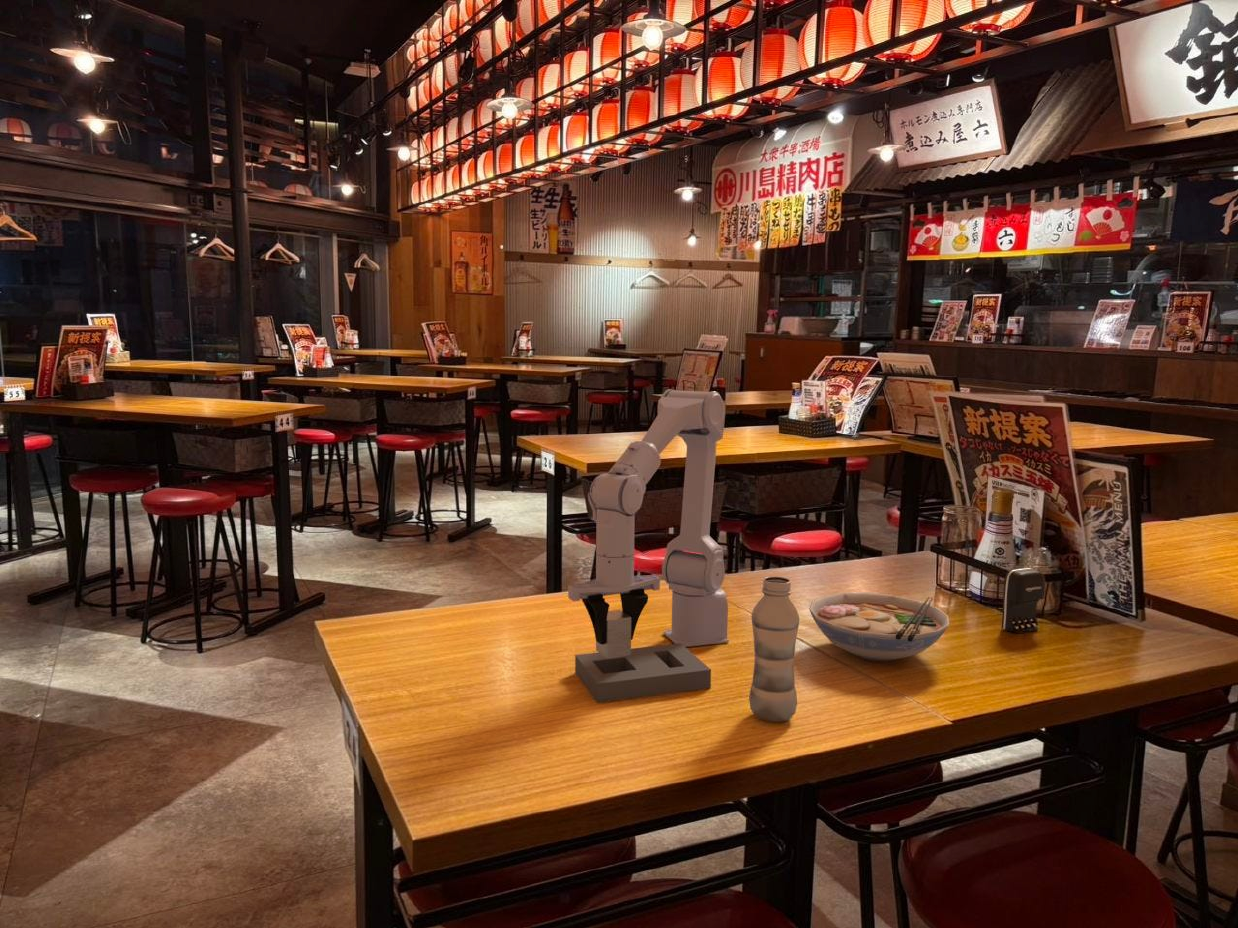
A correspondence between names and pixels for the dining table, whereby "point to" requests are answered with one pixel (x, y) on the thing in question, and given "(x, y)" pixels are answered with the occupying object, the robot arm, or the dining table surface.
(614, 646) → the square bit
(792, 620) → the plastic bottle
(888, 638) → the ramen bowl
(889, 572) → the dining table surface
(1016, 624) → the battery charger
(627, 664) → the socket block
